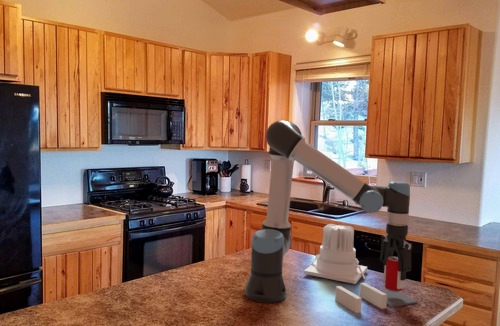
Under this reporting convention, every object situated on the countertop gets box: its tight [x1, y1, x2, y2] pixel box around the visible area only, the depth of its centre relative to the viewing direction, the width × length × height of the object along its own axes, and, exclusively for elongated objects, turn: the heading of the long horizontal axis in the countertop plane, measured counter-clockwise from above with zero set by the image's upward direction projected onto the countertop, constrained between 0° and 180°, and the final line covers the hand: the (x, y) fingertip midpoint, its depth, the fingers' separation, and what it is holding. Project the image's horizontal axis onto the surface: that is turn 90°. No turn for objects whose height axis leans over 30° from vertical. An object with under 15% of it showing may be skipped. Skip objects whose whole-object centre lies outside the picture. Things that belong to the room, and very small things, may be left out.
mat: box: [381, 290, 418, 308], centre depth 153 cm, size 12×12×1 cm
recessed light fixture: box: [303, 223, 368, 285], centre depth 178 cm, size 25×22×21 cm
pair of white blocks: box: [334, 282, 387, 314], centre depth 147 cm, size 13×12×5 cm
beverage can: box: [384, 255, 404, 293], centre depth 153 cm, size 6×6×12 cm
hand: (393, 284), depth 153 cm, fingers closed on beverage can, 6 cm apart
